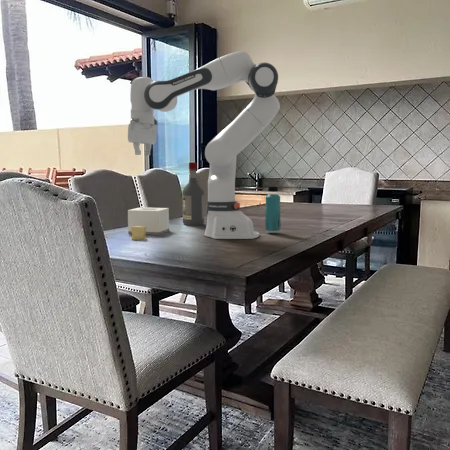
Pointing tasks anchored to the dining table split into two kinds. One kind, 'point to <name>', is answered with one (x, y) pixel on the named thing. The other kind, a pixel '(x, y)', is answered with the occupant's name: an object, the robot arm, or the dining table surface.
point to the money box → (149, 219)
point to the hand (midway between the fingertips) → (142, 155)
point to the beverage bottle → (273, 210)
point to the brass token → (138, 232)
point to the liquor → (193, 200)
